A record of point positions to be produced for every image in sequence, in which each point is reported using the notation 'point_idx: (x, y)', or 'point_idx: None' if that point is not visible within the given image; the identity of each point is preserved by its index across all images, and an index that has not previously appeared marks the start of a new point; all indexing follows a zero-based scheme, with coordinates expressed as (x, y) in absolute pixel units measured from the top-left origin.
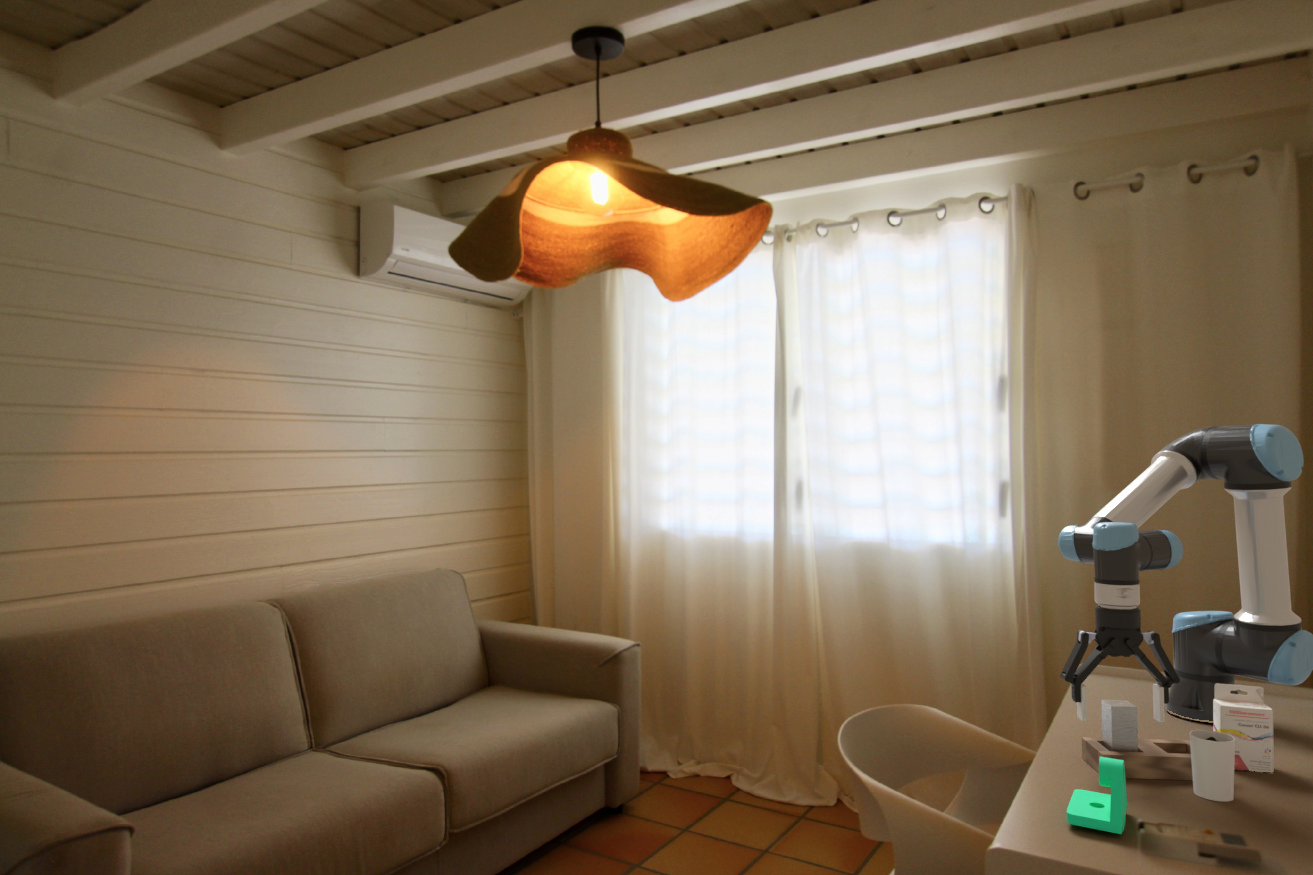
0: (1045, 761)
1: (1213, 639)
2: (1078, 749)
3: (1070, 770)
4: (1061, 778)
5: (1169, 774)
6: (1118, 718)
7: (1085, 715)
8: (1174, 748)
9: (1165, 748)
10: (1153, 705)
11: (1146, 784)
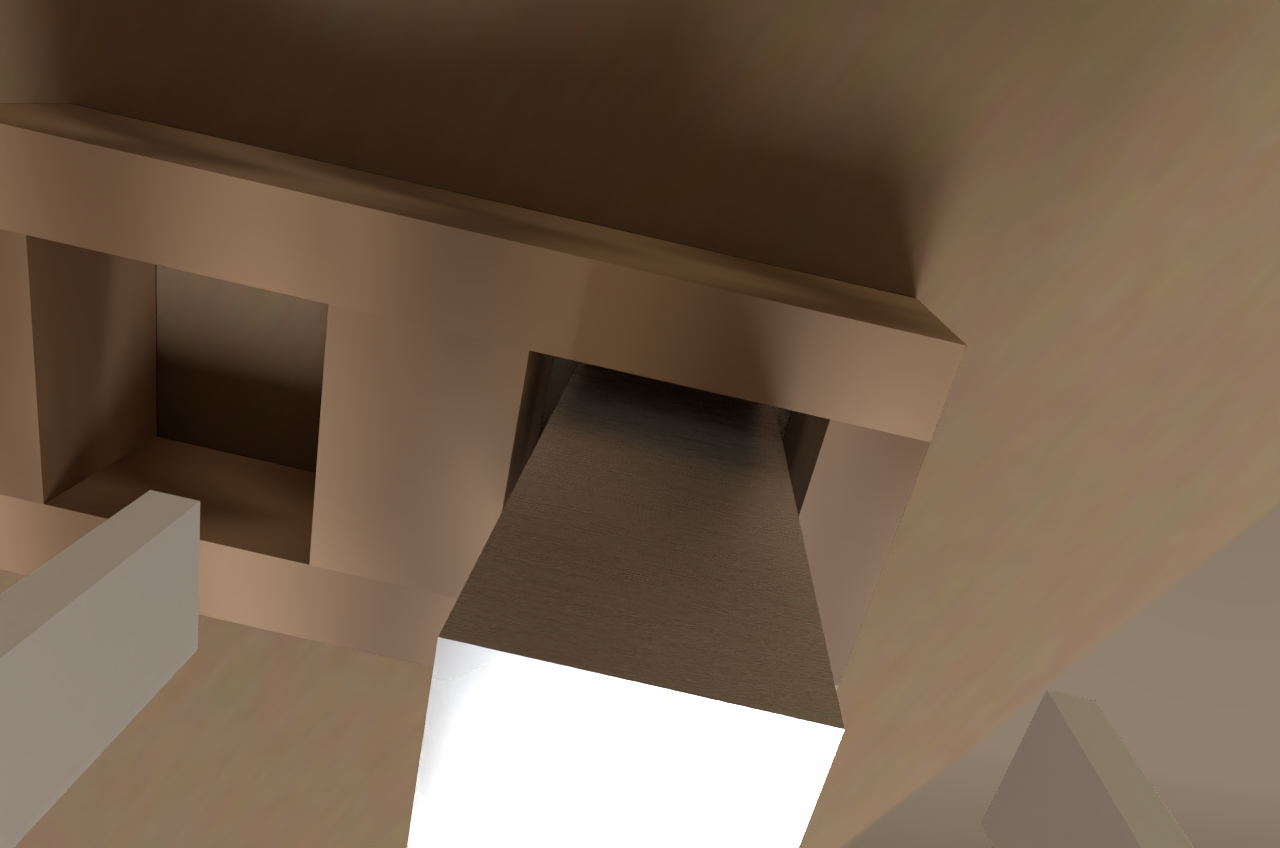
0: (1099, 633)
1: None
2: None
3: (1058, 456)
4: (1268, 315)
5: (426, 191)
6: (732, 591)
7: (1100, 745)
8: None
9: (232, 519)
10: (91, 756)
11: (686, 106)
